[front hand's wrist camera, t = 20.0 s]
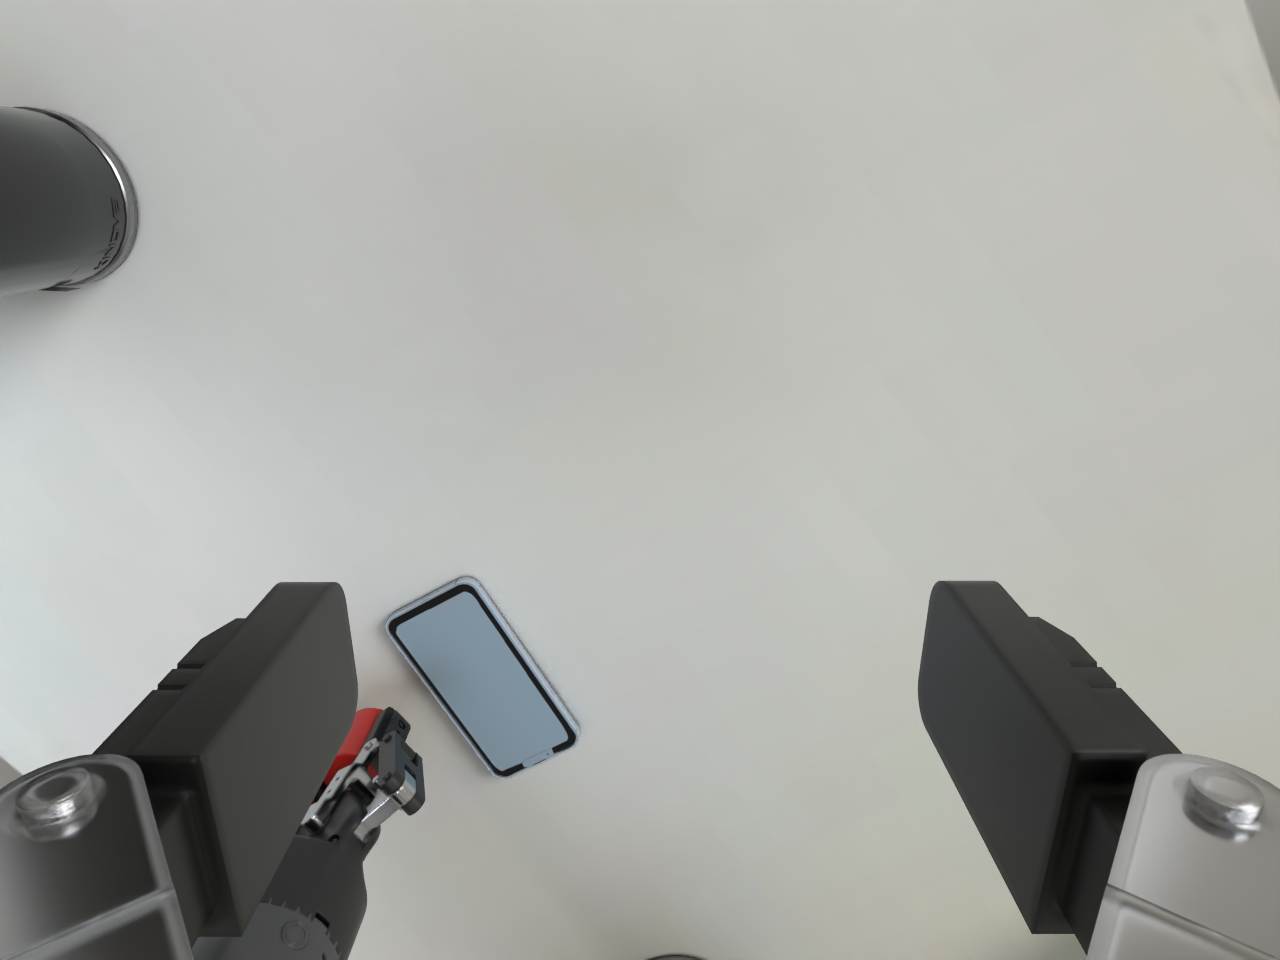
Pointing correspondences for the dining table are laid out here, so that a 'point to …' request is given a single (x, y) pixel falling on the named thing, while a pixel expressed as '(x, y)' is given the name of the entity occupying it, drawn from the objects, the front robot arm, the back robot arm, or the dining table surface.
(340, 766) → the canister
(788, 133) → the dining table surface
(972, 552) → the dining table surface
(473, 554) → the dining table surface
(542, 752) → the smartphone
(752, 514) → the dining table surface
